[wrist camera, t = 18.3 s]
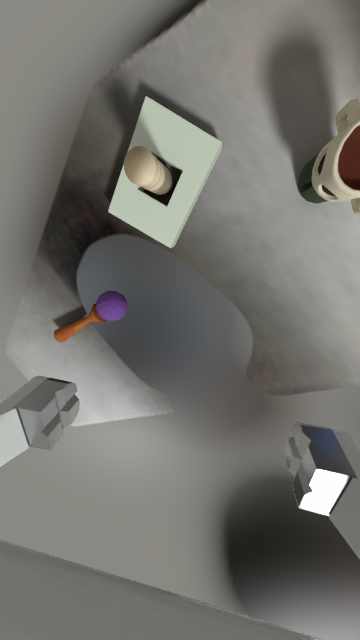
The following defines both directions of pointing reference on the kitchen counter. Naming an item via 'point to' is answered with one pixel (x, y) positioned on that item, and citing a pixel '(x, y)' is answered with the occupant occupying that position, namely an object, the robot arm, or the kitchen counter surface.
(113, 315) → the purple and orange maraca
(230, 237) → the kitchen counter surface
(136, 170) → the beech peg
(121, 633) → the robot arm
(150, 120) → the sage board
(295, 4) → the kitchen counter surface
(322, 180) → the character mug
